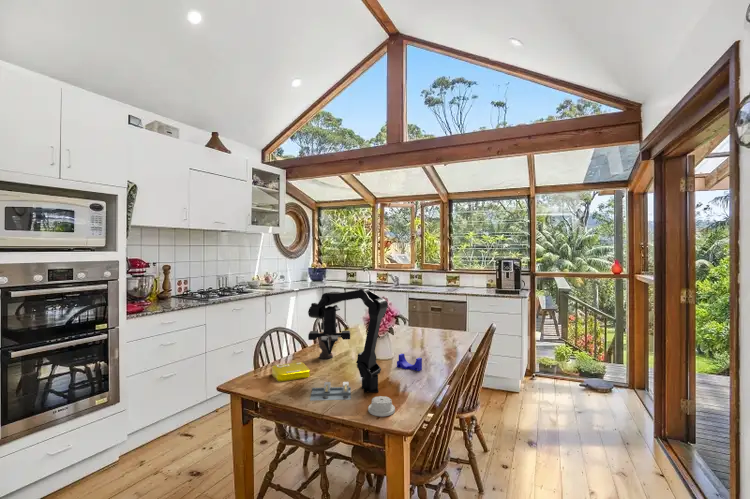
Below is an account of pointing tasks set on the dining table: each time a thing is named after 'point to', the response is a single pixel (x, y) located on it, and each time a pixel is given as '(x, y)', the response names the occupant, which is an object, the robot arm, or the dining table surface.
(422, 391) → the dining table surface
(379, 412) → the mechanical component
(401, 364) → the blue u-shaped bracket
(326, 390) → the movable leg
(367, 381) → the robot arm
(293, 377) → the element tile
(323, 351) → the mortar and pestle
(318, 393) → the board
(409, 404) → the dining table surface
